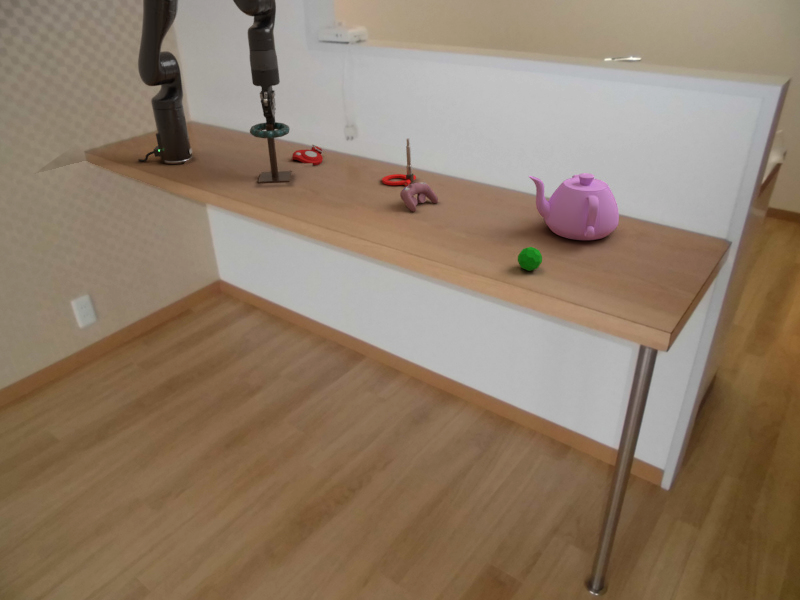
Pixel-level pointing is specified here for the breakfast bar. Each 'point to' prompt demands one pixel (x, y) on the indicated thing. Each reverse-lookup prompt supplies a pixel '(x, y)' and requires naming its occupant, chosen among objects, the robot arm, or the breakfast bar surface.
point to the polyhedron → (530, 258)
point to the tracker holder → (309, 155)
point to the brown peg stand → (273, 165)
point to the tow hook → (408, 178)
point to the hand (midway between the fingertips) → (271, 129)
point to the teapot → (579, 208)
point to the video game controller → (421, 191)
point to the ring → (279, 132)
